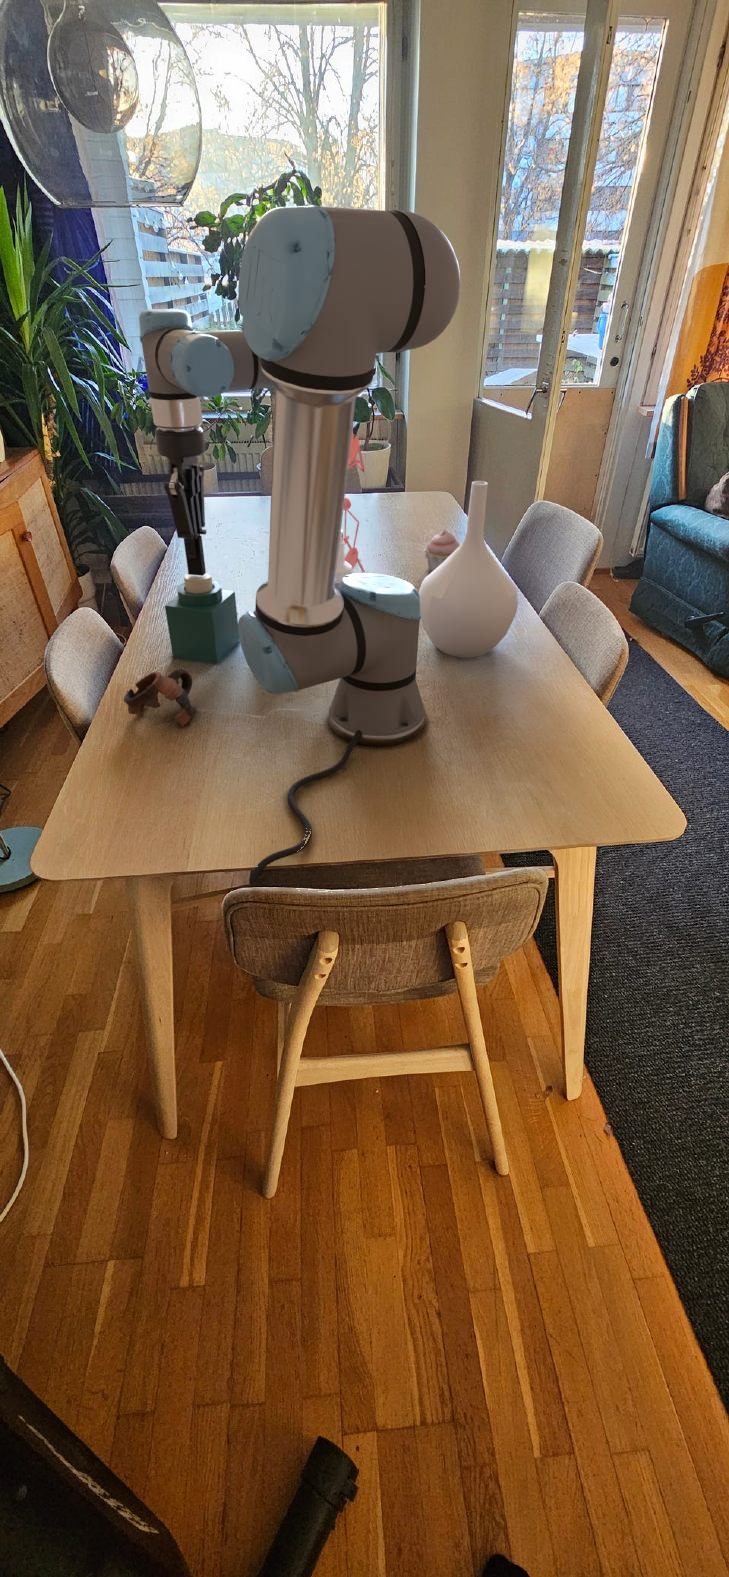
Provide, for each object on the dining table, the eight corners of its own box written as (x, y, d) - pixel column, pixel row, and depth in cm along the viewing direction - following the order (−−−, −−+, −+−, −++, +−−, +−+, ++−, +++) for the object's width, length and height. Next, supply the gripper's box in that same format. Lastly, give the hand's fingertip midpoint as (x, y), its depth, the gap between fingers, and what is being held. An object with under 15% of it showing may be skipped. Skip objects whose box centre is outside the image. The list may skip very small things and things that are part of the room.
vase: (521, 667, 131) (548, 497, 114) (421, 669, 130) (433, 498, 112) (499, 625, 146) (520, 469, 128) (409, 627, 145) (418, 470, 127)
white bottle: (347, 628, 144) (347, 537, 133) (314, 625, 145) (312, 534, 134) (355, 615, 149) (355, 526, 138) (323, 612, 150) (321, 524, 139)
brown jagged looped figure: (177, 739, 111) (141, 700, 107) (142, 746, 117) (107, 708, 113) (217, 689, 118) (185, 650, 113) (182, 697, 124) (151, 660, 120)
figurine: (353, 549, 183) (353, 394, 162) (376, 585, 163) (380, 414, 142) (293, 552, 180) (285, 395, 159) (309, 590, 160) (303, 416, 139)
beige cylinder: (205, 596, 126) (204, 582, 125) (181, 593, 128) (179, 579, 126) (217, 586, 130) (215, 572, 129) (193, 583, 131) (191, 569, 130)
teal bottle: (217, 663, 131) (209, 600, 124) (172, 657, 133) (162, 594, 126) (239, 641, 139) (233, 580, 132) (197, 635, 141) (189, 575, 133)
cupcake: (416, 567, 173) (419, 524, 167) (452, 563, 175) (456, 522, 169) (430, 580, 166) (433, 537, 160) (467, 577, 168) (472, 533, 162)
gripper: (170, 418, 119) (188, 559, 133) (139, 434, 108) (163, 585, 122) (214, 420, 118) (228, 562, 132) (187, 436, 108) (206, 588, 122)
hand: (197, 573), depth 127 cm, fingers closed
